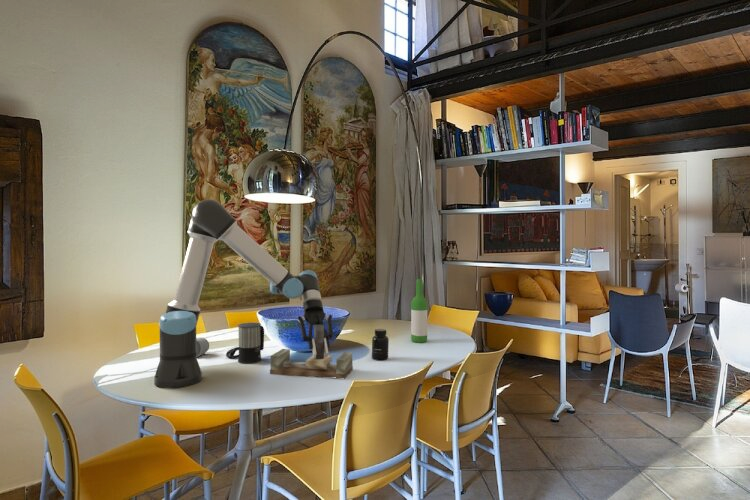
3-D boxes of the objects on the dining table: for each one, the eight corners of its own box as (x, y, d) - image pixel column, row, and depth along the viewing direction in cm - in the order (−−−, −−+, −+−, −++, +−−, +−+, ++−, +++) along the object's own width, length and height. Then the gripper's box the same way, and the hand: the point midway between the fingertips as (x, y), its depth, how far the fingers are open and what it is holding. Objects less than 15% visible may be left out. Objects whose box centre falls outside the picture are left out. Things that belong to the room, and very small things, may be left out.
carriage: (331, 364, 176) (331, 323, 176) (324, 371, 167) (324, 328, 167) (314, 363, 177) (314, 323, 177) (305, 370, 169) (305, 327, 168)
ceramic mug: (210, 353, 200) (210, 335, 200) (201, 358, 192) (201, 339, 191) (187, 353, 201) (186, 335, 201) (177, 358, 193) (176, 339, 193)
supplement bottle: (374, 361, 188) (374, 331, 187) (370, 357, 194) (370, 328, 194) (390, 360, 190) (390, 330, 189) (385, 356, 196) (385, 327, 196)
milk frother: (258, 364, 183) (257, 326, 183) (218, 363, 183) (217, 326, 183) (266, 355, 197) (266, 320, 197) (229, 354, 198) (229, 320, 197)
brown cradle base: (352, 369, 176) (352, 352, 176) (344, 378, 164) (344, 360, 164) (283, 365, 182) (283, 348, 181) (270, 373, 170) (269, 356, 170)
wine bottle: (419, 338, 230) (419, 278, 229) (430, 341, 224) (430, 279, 223) (407, 341, 225) (408, 279, 225) (419, 343, 219) (419, 280, 219)
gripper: (331, 308, 189) (341, 359, 174) (290, 310, 184) (296, 363, 169) (334, 297, 184) (345, 348, 169) (292, 299, 179) (298, 351, 163)
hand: (321, 355), depth 169 cm, fingers closed on carriage, 4 cm apart
